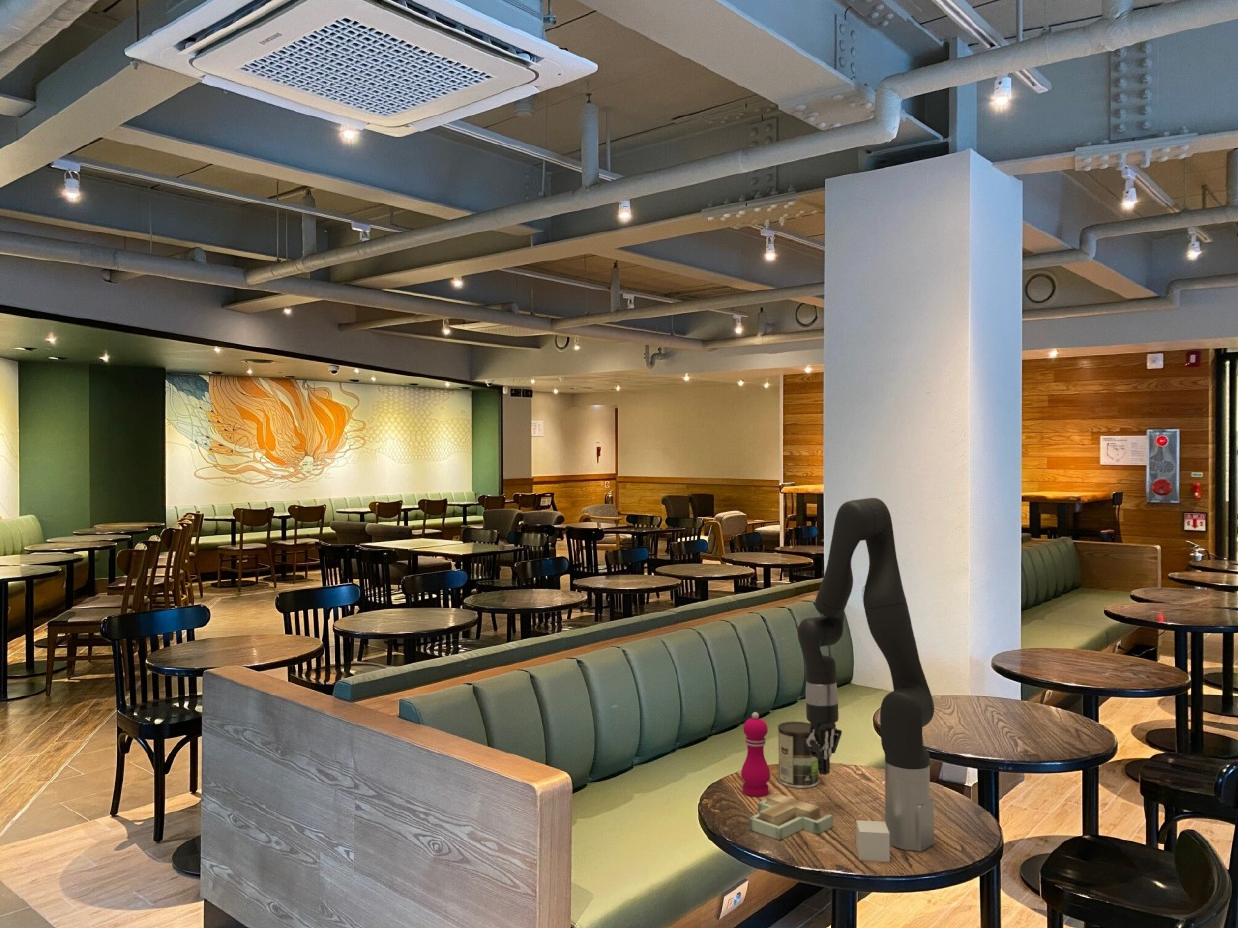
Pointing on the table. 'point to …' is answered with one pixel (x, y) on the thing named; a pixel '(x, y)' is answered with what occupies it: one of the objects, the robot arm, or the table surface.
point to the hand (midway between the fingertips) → (824, 773)
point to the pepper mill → (755, 758)
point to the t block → (787, 810)
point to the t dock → (788, 824)
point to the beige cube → (872, 841)
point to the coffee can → (796, 756)
